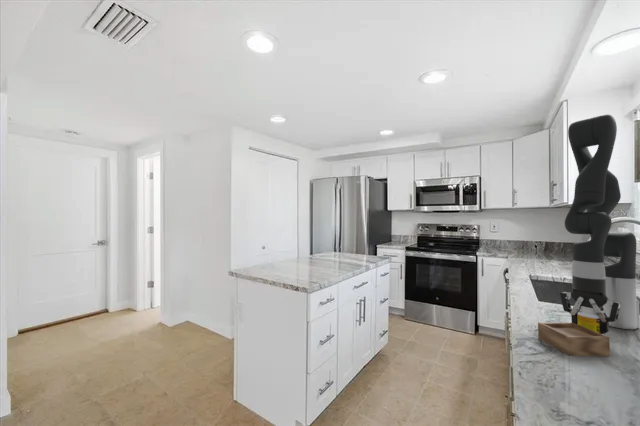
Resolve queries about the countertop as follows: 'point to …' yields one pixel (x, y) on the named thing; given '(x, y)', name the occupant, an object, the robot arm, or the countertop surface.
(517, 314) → the countertop surface
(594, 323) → the supplement bottle
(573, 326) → the walnut tray
